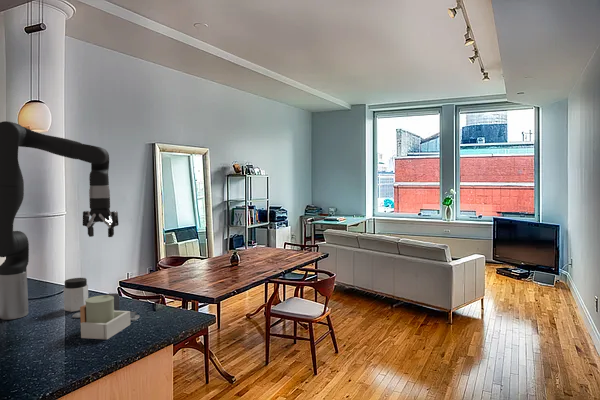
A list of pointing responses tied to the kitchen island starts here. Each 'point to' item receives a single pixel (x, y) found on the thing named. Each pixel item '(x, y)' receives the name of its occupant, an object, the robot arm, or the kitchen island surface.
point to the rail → (130, 316)
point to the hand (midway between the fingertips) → (100, 236)
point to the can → (100, 309)
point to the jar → (75, 294)
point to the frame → (106, 326)
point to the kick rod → (116, 307)
